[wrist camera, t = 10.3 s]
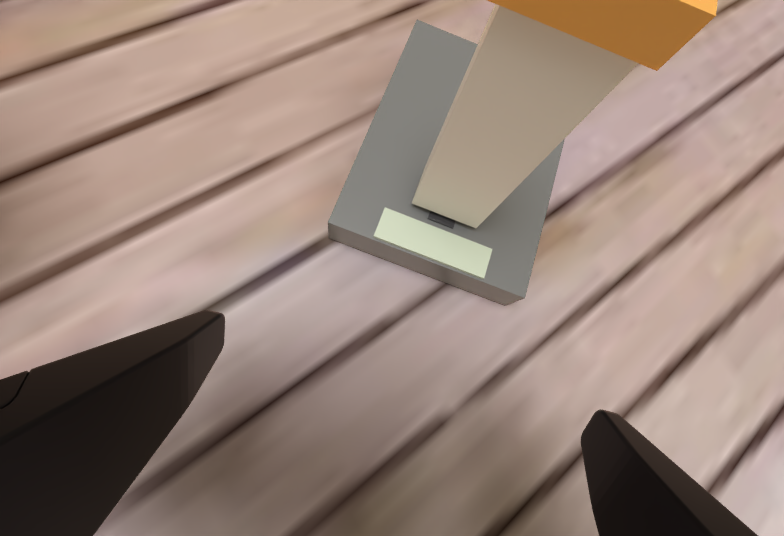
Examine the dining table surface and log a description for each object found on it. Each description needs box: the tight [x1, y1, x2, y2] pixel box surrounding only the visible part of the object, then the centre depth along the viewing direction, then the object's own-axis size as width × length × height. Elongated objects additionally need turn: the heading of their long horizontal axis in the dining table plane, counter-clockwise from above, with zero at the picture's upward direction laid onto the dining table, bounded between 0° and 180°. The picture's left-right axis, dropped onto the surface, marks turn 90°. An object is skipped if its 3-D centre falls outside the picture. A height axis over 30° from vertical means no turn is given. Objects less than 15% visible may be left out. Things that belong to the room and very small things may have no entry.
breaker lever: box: [412, 0, 718, 228], centre depth 12 cm, size 2×4×11 cm, turn 70°
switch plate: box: [328, 20, 565, 305], centre depth 19 cm, size 12×9×2 cm
